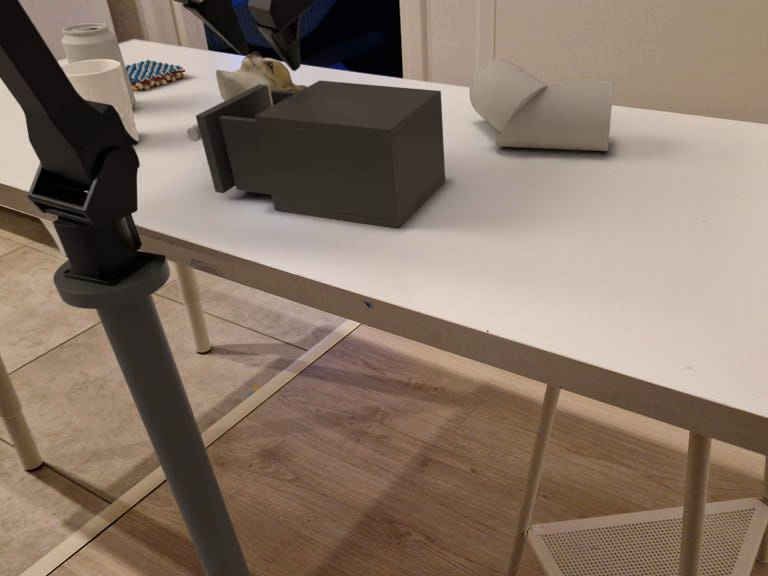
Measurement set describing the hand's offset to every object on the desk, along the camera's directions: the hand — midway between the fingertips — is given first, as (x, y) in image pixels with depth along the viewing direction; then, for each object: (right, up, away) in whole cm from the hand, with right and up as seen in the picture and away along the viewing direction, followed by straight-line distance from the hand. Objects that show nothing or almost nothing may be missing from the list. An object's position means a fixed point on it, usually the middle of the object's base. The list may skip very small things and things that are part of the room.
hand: (270, 60), depth 84 cm
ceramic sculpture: (-8, +4, +26) cm, 27 cm away
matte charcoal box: (+11, -16, 0) cm, 20 cm away
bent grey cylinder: (+33, -4, +14) cm, 36 cm away
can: (-33, +5, +27) cm, 43 cm away
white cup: (-27, -5, +15) cm, 31 cm away
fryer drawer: (+1, -13, +2) cm, 13 cm away
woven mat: (-34, +15, +40) cm, 54 cm away
